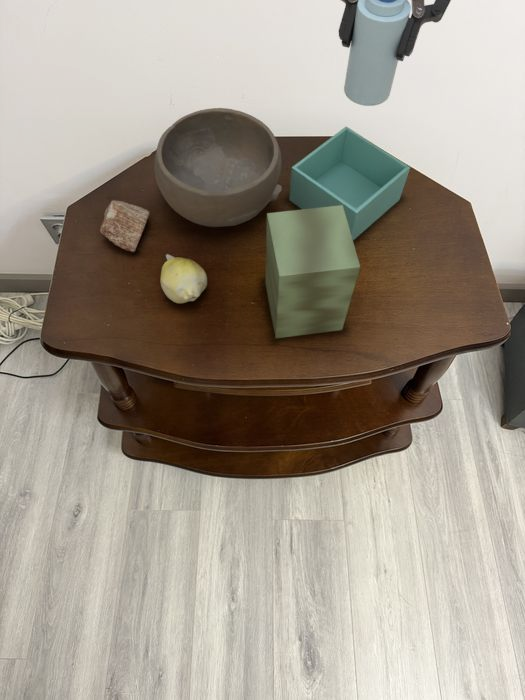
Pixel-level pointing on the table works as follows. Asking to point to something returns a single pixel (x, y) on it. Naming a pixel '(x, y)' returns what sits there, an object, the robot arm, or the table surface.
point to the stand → (309, 270)
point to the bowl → (218, 167)
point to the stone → (124, 224)
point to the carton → (349, 179)
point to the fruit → (182, 279)
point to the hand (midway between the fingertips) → (372, 51)
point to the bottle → (375, 50)
